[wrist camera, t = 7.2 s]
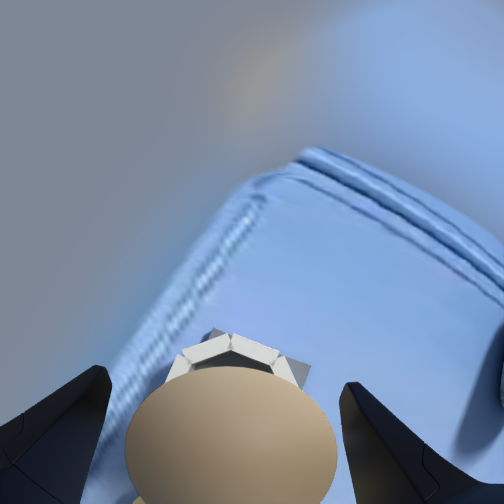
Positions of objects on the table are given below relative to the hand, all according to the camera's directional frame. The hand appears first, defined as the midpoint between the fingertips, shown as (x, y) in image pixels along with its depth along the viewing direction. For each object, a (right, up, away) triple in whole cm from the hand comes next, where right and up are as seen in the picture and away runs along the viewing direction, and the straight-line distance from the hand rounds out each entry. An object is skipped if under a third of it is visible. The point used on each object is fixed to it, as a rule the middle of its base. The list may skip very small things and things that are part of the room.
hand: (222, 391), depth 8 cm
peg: (0, -5, +8) cm, 10 cm away
